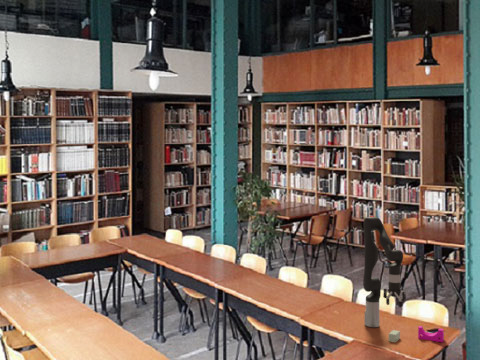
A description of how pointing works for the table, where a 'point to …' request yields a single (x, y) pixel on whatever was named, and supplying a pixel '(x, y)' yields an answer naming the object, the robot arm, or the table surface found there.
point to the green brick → (394, 336)
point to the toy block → (430, 335)
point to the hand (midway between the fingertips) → (394, 305)
